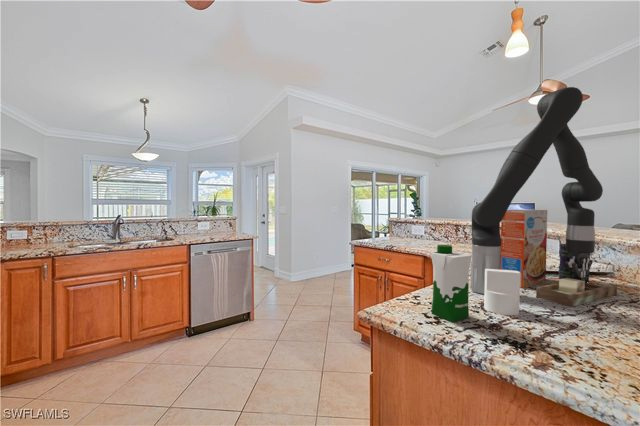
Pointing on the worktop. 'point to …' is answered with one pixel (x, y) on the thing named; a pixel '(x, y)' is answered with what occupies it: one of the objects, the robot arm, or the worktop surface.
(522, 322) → the worktop surface
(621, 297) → the worktop surface
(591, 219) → the robot arm
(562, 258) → the storage jar
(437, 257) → the milk carton
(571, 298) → the trap track
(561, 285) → the maple block
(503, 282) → the base with upright slab
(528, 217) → the orange cereal box
